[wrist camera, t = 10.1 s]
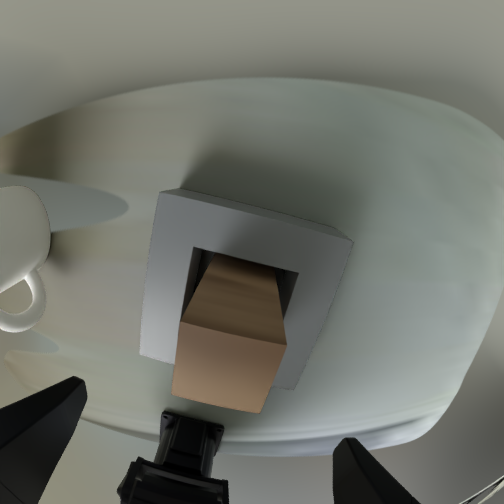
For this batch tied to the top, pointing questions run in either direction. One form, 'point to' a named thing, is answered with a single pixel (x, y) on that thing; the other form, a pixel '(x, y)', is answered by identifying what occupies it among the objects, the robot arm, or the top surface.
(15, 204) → the mug
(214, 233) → the well block
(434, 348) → the top surface
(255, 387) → the walnut post
